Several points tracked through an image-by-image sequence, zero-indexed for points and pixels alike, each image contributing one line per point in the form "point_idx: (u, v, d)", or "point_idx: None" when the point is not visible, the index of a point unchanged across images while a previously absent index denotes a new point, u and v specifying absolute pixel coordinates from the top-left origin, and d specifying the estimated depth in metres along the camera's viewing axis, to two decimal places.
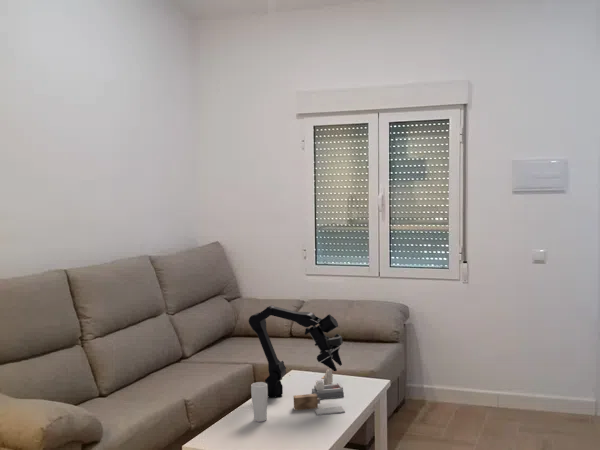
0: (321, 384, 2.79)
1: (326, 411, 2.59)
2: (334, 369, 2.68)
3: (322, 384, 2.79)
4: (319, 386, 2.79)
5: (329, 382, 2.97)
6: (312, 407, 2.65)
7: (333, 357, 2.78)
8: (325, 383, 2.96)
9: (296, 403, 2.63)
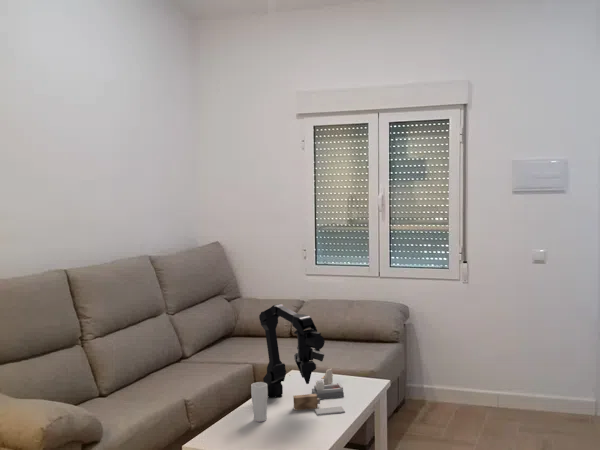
0: (321, 384, 2.79)
1: (326, 411, 2.59)
2: (307, 382, 2.60)
3: (322, 384, 2.79)
4: (319, 386, 2.79)
5: (329, 382, 2.97)
6: (312, 407, 2.65)
7: (300, 367, 2.69)
8: (325, 383, 2.96)
9: (296, 403, 2.63)
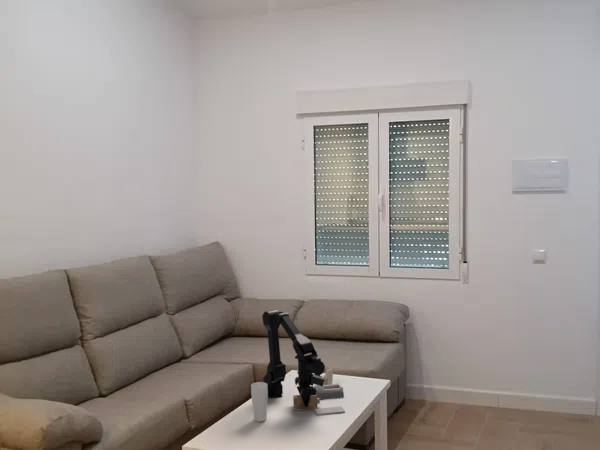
0: None
1: (326, 411, 2.59)
2: (306, 404, 2.63)
3: None
4: (319, 386, 2.79)
5: (329, 382, 2.97)
6: (312, 407, 2.65)
7: None
8: (325, 383, 2.96)
9: (296, 403, 2.63)
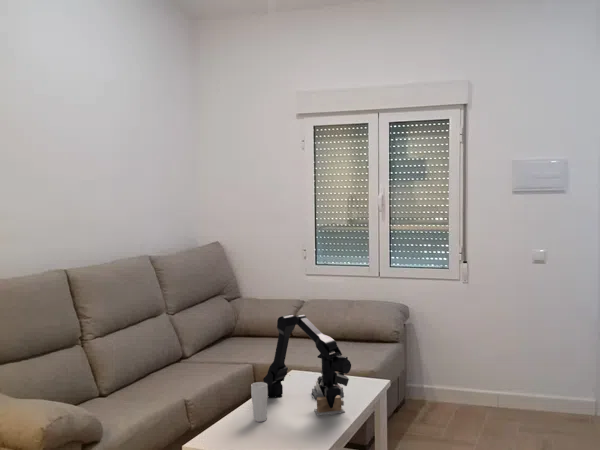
0: None
1: None
2: (331, 406, 2.56)
3: None
4: None
5: None
6: (336, 409, 2.59)
7: (324, 391, 2.63)
8: None
9: (319, 405, 2.58)
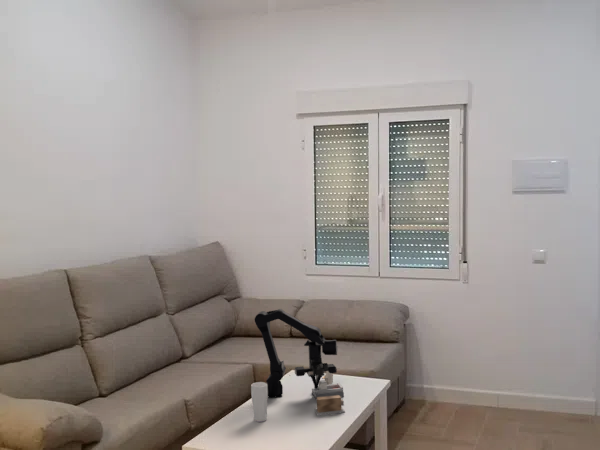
0: (324, 384, 2.79)
1: None
2: None
3: (325, 384, 2.79)
4: (322, 386, 2.79)
5: (330, 382, 2.97)
6: (336, 409, 2.59)
7: (316, 377, 2.82)
8: None
9: (319, 405, 2.58)
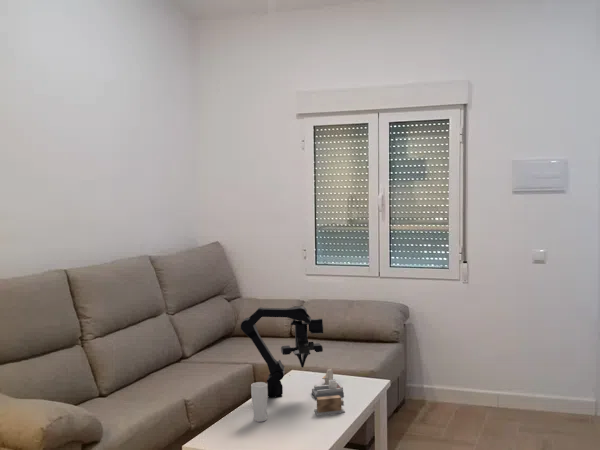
0: (334, 383, 2.80)
1: None
2: None
3: (335, 383, 2.80)
4: (332, 385, 2.80)
5: None
6: (336, 409, 2.59)
7: (302, 356, 2.83)
8: (326, 383, 2.96)
9: (319, 405, 2.58)
